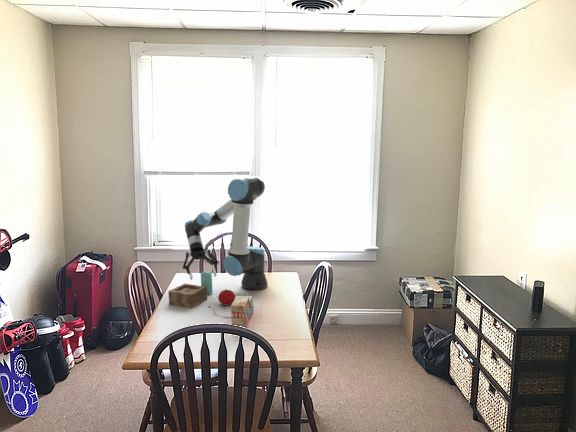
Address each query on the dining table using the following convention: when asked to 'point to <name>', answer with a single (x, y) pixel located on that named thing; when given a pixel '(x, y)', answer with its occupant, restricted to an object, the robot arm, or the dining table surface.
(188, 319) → the dining table surface
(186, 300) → the wooden box
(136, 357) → the dining table surface
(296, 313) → the dining table surface
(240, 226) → the robot arm
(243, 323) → the printed cardboard box
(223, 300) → the tomato
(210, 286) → the teal round block
